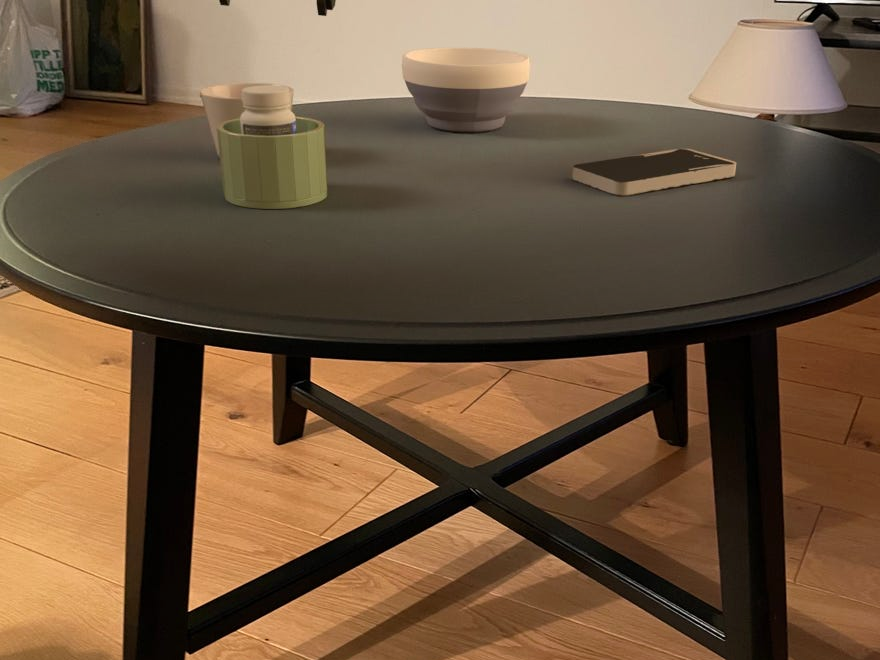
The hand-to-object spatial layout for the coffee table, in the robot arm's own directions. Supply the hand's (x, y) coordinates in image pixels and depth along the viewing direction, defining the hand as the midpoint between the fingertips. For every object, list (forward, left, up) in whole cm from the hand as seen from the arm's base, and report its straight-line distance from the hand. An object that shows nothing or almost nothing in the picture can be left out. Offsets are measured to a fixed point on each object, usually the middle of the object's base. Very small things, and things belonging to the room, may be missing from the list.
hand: (272, 4), depth 89 cm
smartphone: (+21, -29, -15) cm, 38 cm away
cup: (-5, -4, -15) cm, 16 cm away
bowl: (+31, -1, -15) cm, 34 cm away
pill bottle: (-5, -3, -15) cm, 16 cm away
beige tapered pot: (+5, +8, -15) cm, 18 cm away
